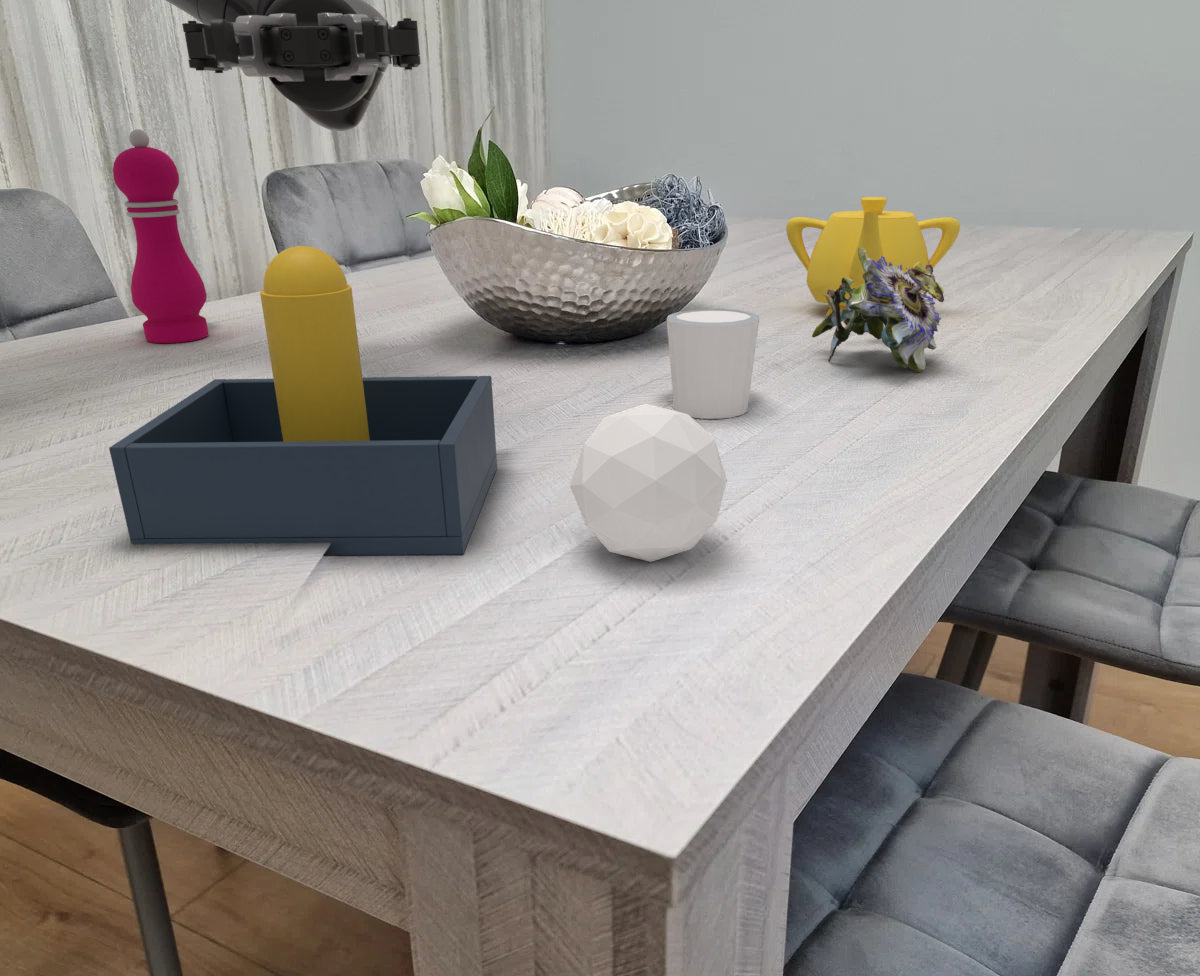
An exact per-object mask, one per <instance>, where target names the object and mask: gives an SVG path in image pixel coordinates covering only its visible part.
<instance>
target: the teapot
mask: <svg viewBox="0 0 1200 976" xmlns="http://www.w3.org/2000/svg"><path fill="white" fill-rule="evenodd" d="M887 200H888V198H887V197H884V196H865V197H861V198H860V204H861V207H862V210H845V211H844V210H843V211H835V212H832V214H831V215H829V218H828V220H822V219H817V218H813V217H807V216H796V217H792V218H790V219H789V220H788V221H787V223H786V227H785V229H786V235H787V240H788V242H789V244H790V247H791V248H792V250H793V251H794V253H795V255H796V256H797V258H798V259H799V261H800V263H801V264H802V265H803V267H804V268H805V271H806V273H807V274H806V284H807V287H808V289H809V292H810V294H811V295H812V297H813V298H814V300H815V301H816V302H818V303H822V304H825V305H826V304H827V308H829V309H828V310H827V312H826V314H825V318H827V317H828V316H829V315H830V314H831V313H832V311H833V310H832V309H831V307H830V305H829V304H828V301H827V299H826V297H825V295H826V292H827V290H829V289H830V290H834V291H836V290H837V289H838V288H839V287H840V285H841V284H842V282H841V281H842V278H844V277H846V278H847V279H852V280H854V281H853V283H852V284H851V286H850V287H851V289H853V288H855V289H857V288H858V287H860V286H861V285H862V284H863V283H864V282H865V281H864V279H863V274H864V273H865V272H864V270H863V268H862V265H861V262H860V259H859V255H858V248H859V247H860V248H863V249H864V250H865V251H866V252H867V254H866V255H867V257H868V258H869V259H873V260H874V261H875V262H877V261H878V260H879V259H881V256H883V257H885V260H886V262H887V264H888V266H889V262H891V263H892V265H893V267H896V266H897V265H898V266H899V268H900V265H902V272H903V274H904V273H905V272H907V273H908V268H912V266H913V265H914V264H915V263H917V262H921V264H922V268H924V269H925V268H926V265H931V266H932V267H933V269H934V268H935V267H936V266H937V265H938V263H940V261H941V260H942V259H943V258H944V257H945V256H946V255H947V253H948V252H949V251H950V249H951V248H952V247H953V245H954V244H955V242H956V241H957V238H958V236H959V233H960V230H961V224H960V221H959V220H958V219H956V218H954V217H948V216H947V217H946V216H945V217H934V218H929V219H925V220H921V221H918V220H917V218H916V217H917V216H916V215H915V214H914V213H913V212H910V211H901V210H885V209H884V208H885V206H886V205H887ZM805 228H813V229H819V230H821V232H820V234H819V236H818V238H817V239H816V242H815V244H814V246H813V250H812V252H811V255H810V257H809V254H808V252H807V250H806V247H805V243H804V238H803V230H804V229H805ZM935 228H936V229H940V230H941V237H940V240H939V242H938V245H937V247H936V248H935V250H934V252H933V253H932V255H931V257H930V258H929V253H928V249H927V245H926V241H925V238H924V234H923V232H922V230H927V229H935ZM906 268H907V269H906ZM922 292H925V291H923V290H922ZM827 295H828V296H829V298H830V301H831V302H832V299H831V297H830V295H829V294H827ZM845 298H846V299H849V298H850V295H849V293H846V294H845ZM839 305H840V310H843V309H847V306H846V304H845V303H843V302H841V303H840V304H839Z"/></svg>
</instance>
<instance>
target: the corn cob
mask: <svg viewBox="0 0 1200 976" xmlns="http://www.w3.org/2000/svg"><path fill="white" fill-rule="evenodd" d="M262 282H263V285H262V287H263V289H262V290H260V291H259V295H260V302H261V309H262V315H263V320H264V326H265V334H266V339H267V347H268V352H269V360H270V365H271V371H272V377H273V378H272V379H274V385H275V391H276V398H277V404H278V411H279V417H280V423H281V430H282V436H283V442H299V441H370V438H369V429H368V421H367V413H366V404H365V396H364V387H363V379H362V377H363V372H362V364H361V355H360V354H361V353H360V346H359V339H358V329H357V322H356V321H357V320H356V313H355V305H354V295H353V289H352V286H351V285H350V284H348V281H347V277H346V275H345V273H344V271H343V269H342V267H341V266H340V264H339V263H338V262H337V261H336V260H335V259H334V258H333V256H331V255H330V254H328V252H325V251H323V250H321V249H319V248H317V247H314V246H309V245H307V246H306V245H297V246H291V247H288V248H286V249H284V250H282V251H280V252H279V253H278V254H276V255H275V256H274V257H273V258H272V259H271V261H270V262H269V264H268V266H267V267H266V269H265V272H264V276H263V281H262Z"/></svg>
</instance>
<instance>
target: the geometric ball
mask: <svg viewBox="0 0 1200 976" xmlns="http://www.w3.org/2000/svg"><path fill="white" fill-rule="evenodd" d="M727 483H728V479H727V475H726V472H725V469H724V465H723V461H722V459H721V455H720V453H719V450H718V445H717V442H716V439H715V438H714V437H713V436H712V435H711V434H710V433H708V432H707V431H706V429H704V428H703V427H702V426H701V425H700V424H699V423H698V422H697V421H696V420H695V419H694V418H693V417H690V416H689V415H688V414H685V413H681V412H677V411H674V409H669V408H665V407H662V406H658V405H653V404H649V403H644V404H640V405H637V406H634V407H631V408H628V409H625V410H622V411H619V412H616V413H612V414H610V415H606V416H604V417H603V418H602V420H601V421H600V423H599V424H598V425H597V427H596V428H595V429H594V430H593V431H592V433H591V434H590V435H589V437H588V438H587V439H586V440H585V442H584V443H583V445H582V448H581V452H580V454H579V457H578V461H577V464H576V466H575V470H574V472H573V475H572V479H571V481H570V485H569V487H570V490H571V493H572V495H573V497H574V499H575V502H576V504H577V507H578V510H579V511H580V515H581V516H582V519H583V521H584V524H585V525H586V527H587V528H588V529H589V530H590V531H591V533H593V535H594V536H595V537H596V538H597V539H598V540H599V542H600V543H601V545H603V546H604V547H605V549H607V551H608V552H609V553H614V554H617V555H621V556H624V557H629V558H634V559H638V560H641V561H645V562H650V563H652V562H656V561H658V560H662V559H665V558H668V557H672V556H674V555H677V554H681V553H683V552H686V551H689V550H692V549H693V548H695V546H696V545H697V544H698V543H699V541H700V540H701V539H702V538H703V537H704V536H705V535H706V534H707V532H709V530H710V529H711V528H712V527H713V526H714V524H716V522H717V521H718V517H719V513H720V509H721V505H722V501H723V498H724V493H725V490H726V486H727Z"/></svg>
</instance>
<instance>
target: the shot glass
mask: <svg viewBox="0 0 1200 976" xmlns="http://www.w3.org/2000/svg"><path fill="white" fill-rule="evenodd" d="M759 324H760V315H758V314H757V313H754V312H750V311H745V310H738V309H728V308H702V309H701V308H700V309H690V310H683V311H677V312H673V313H671V314H668V315H667V317H666V325H667V326H666V329H667V340H668V341H667V342H668V352H669V353H668V354H669V365H670V376H671V377H670V378H671V390H672V400H673V401H672V402H673V410H674V411H677V412H681V413H685V414H688V415H689V416H690V417H691V418H693V419H694V418H696V419H701V420H702V419H703V420H706V419H707V420H720V419H729V418H734V417H739V416H742V415H744V414H745V413H748V409H749V400H750V392H751V385H752V378H753V370H754V363H755V356H756V355H755V354H756V348H757V342H758V341H757V339H758V331H759Z"/></svg>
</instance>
